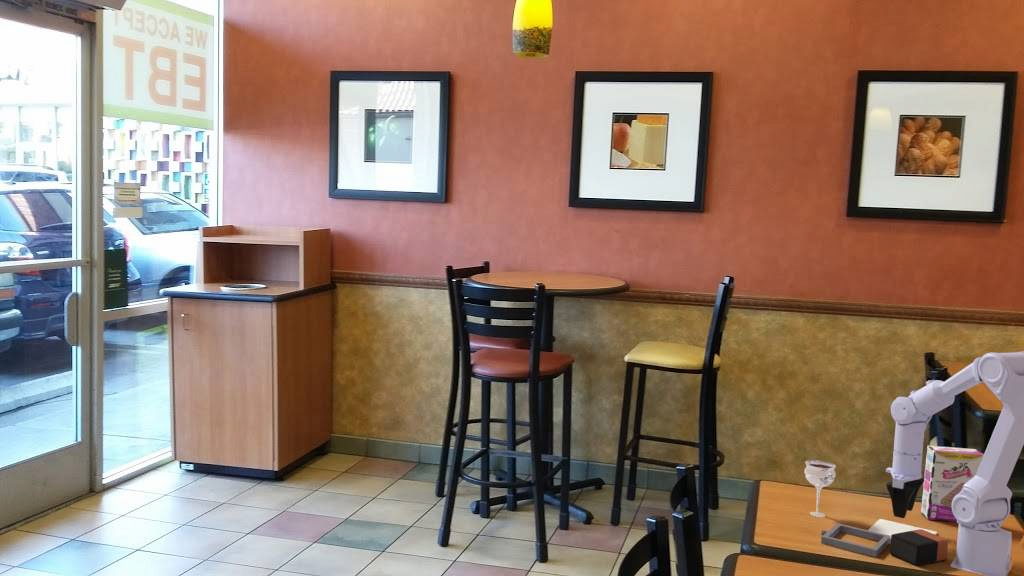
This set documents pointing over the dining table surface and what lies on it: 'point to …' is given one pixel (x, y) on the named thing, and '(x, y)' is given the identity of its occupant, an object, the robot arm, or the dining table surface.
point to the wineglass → (819, 478)
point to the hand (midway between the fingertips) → (902, 513)
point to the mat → (893, 528)
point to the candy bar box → (946, 479)
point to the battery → (919, 547)
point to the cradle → (874, 552)
